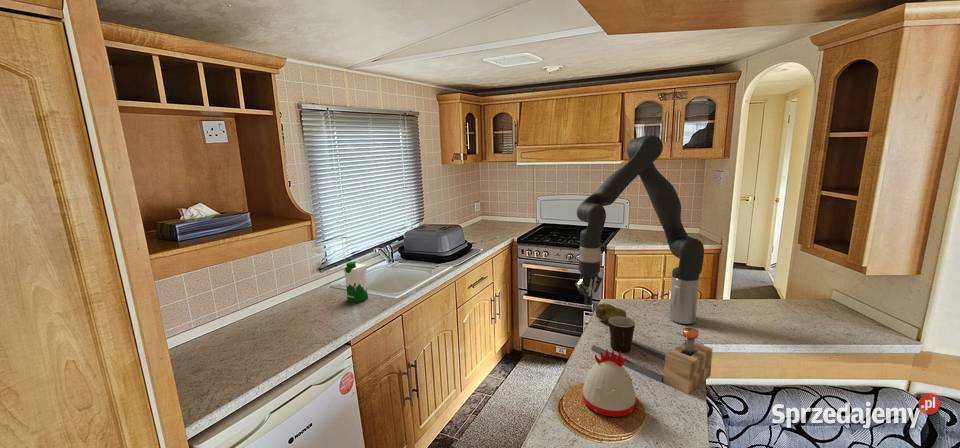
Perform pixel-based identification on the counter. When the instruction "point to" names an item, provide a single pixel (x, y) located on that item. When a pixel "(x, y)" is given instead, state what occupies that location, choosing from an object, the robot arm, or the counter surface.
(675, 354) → the hollow wooden block stack
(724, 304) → the counter surface
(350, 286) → the milk carton
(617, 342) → the coffee mug
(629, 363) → the guide rails
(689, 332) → the button
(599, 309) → the potato
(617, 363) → the kitchen timer
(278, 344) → the counter surface
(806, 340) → the counter surface
